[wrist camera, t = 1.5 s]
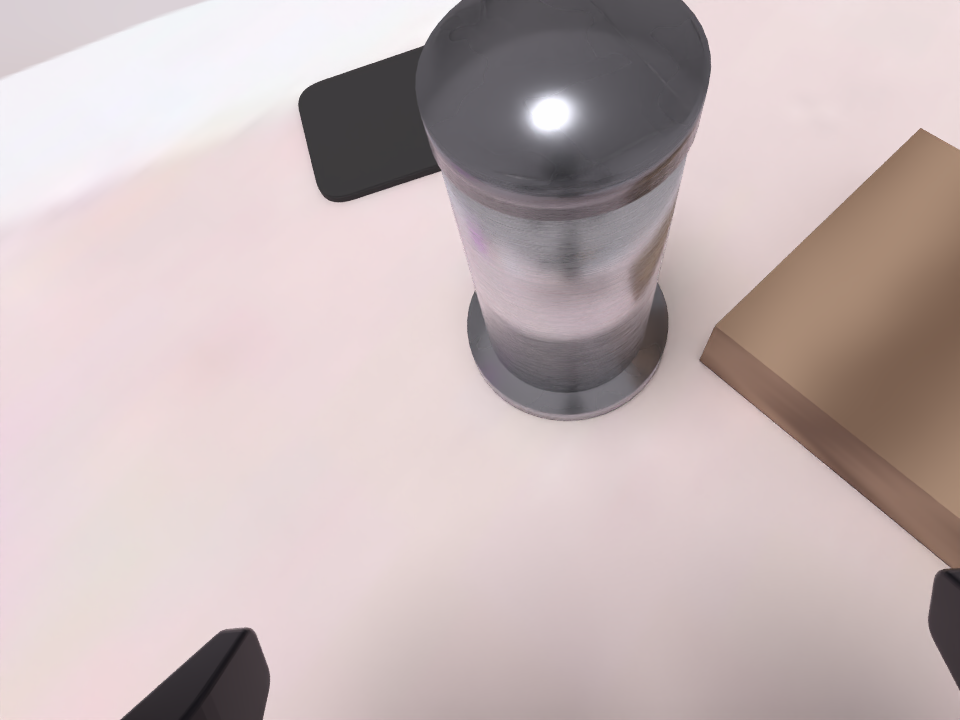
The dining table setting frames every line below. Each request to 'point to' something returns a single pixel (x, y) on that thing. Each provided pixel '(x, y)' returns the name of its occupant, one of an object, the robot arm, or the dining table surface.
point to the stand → (868, 342)
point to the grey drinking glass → (564, 185)
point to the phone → (366, 129)
